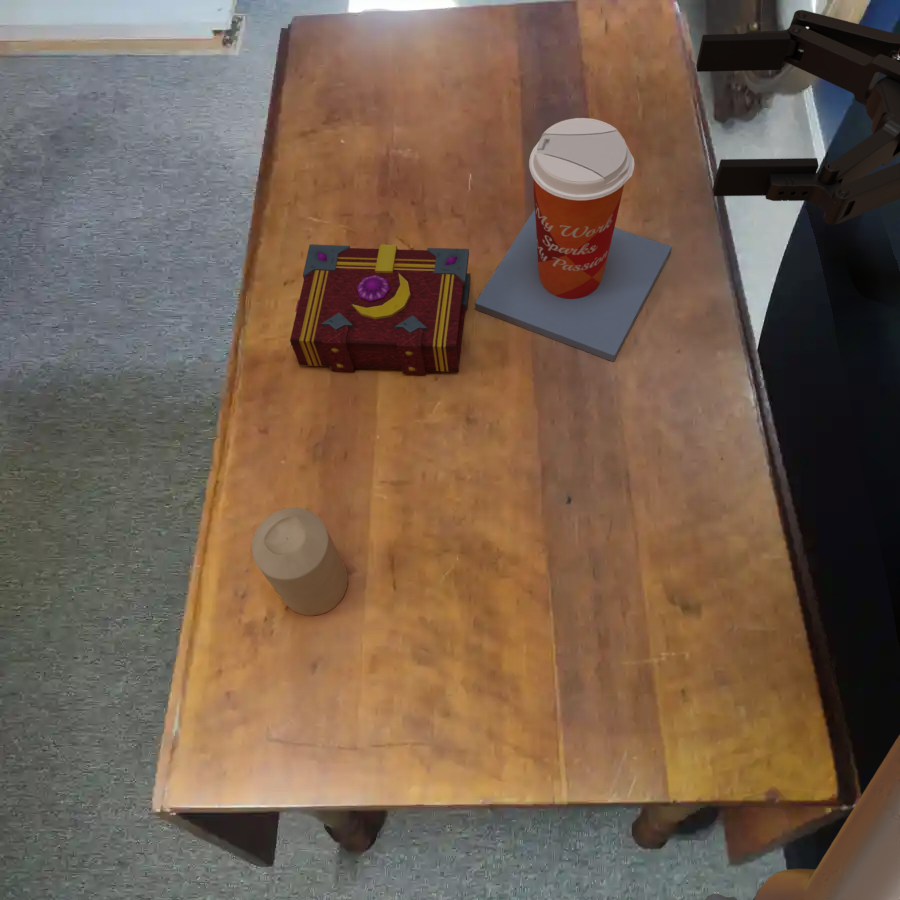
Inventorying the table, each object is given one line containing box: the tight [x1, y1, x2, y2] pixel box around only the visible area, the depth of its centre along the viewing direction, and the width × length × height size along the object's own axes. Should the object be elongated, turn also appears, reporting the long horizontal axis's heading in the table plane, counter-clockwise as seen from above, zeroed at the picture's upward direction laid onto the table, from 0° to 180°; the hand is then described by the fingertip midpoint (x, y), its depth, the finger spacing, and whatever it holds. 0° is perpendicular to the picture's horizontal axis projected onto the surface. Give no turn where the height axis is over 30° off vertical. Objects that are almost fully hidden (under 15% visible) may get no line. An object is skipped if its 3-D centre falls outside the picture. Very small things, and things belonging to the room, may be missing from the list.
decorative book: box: [289, 243, 472, 376], centre depth 78 cm, size 11×16×5 cm
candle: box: [251, 507, 348, 617], centre depth 63 cm, size 6×6×10 cm
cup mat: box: [474, 208, 673, 363], centre depth 80 cm, size 14×14×1 cm
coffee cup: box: [528, 117, 635, 299], centre depth 73 cm, size 8×8×15 cm
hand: (707, 112), depth 63 cm, fingers open, 13 cm apart
